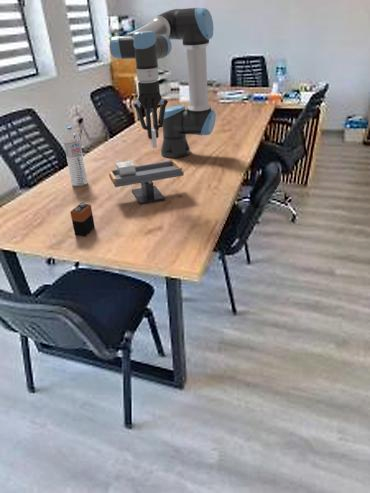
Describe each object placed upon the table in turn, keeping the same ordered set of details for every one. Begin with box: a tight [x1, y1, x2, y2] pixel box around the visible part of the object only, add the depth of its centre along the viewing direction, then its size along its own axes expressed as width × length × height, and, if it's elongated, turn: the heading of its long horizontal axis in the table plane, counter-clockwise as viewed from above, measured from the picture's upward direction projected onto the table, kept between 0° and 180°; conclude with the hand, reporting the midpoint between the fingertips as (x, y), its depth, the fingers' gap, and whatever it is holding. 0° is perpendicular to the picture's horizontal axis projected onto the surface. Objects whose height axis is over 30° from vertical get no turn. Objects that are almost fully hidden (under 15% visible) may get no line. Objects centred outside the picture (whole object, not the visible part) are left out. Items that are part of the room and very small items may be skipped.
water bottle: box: [62, 126, 88, 188], centre depth 170 cm, size 7×7×25 cm
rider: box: [115, 160, 136, 178], centre depth 154 cm, size 6×6×5 cm
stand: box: [131, 181, 166, 206], centre depth 160 cm, size 10×14×7 cm
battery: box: [70, 201, 95, 237], centre depth 136 cm, size 4×7×10 cm, turn 163°
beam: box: [108, 160, 185, 188], centre depth 157 cm, size 27×12×4 cm, turn 110°
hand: (154, 146), depth 153 cm, fingers closed
